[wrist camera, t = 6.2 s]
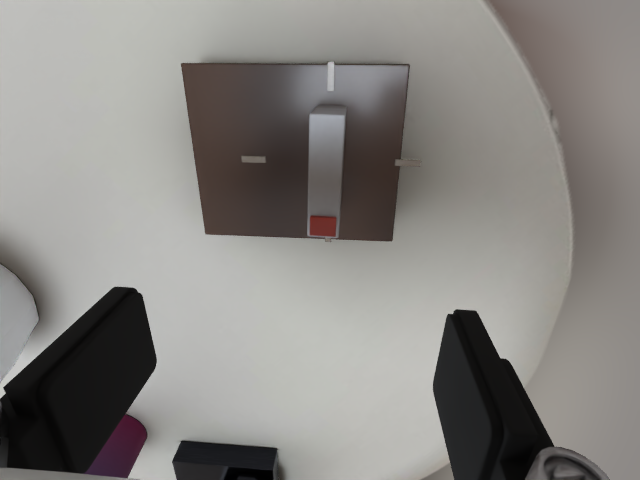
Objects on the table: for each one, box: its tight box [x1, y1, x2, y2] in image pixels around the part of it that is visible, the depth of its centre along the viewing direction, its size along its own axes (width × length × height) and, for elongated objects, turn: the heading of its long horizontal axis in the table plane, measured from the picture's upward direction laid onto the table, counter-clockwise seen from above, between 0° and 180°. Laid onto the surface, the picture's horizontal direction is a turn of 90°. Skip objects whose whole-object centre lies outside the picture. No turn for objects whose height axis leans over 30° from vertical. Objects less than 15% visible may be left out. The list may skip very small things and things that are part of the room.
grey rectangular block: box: [307, 105, 347, 238], centre depth 19 cm, size 6×2×4 cm, turn 178°
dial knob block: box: [181, 62, 421, 242], centre depth 22 cm, size 13×10×3 cm
